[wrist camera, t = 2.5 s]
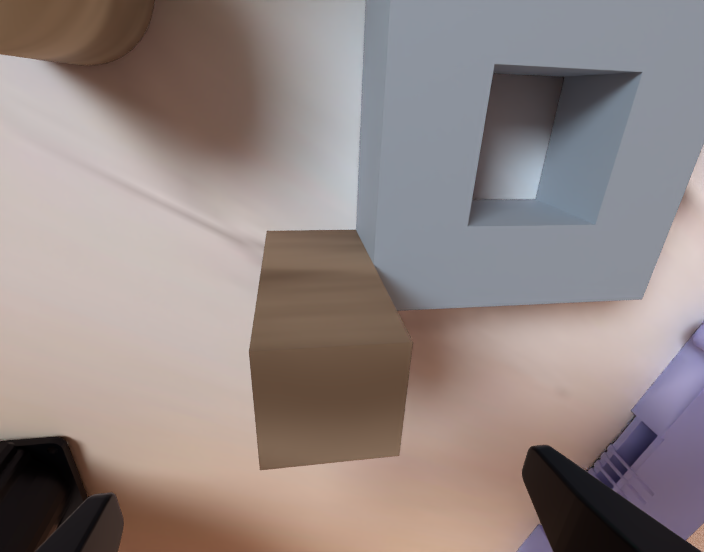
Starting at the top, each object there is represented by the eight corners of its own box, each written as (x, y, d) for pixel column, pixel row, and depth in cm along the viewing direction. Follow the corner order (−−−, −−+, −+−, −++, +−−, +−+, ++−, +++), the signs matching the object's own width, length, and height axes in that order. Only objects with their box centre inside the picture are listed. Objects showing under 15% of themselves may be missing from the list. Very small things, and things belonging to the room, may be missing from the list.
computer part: (456, 591, 33) (586, 597, 38) (478, 655, 30) (620, 654, 34) (684, 296, 23) (829, 350, 27) (763, 336, 19) (917, 392, 23)
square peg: (352, 306, 19) (399, 455, 11) (271, 309, 19) (260, 470, 11) (355, 229, 18) (412, 342, 10) (266, 230, 17) (249, 352, 9)
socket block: (579, 263, 20) (642, 299, 17) (354, 269, 19) (370, 311, 15) (664, -16, 15) (779, -49, 12) (367, -44, 14) (396, -93, 10)
